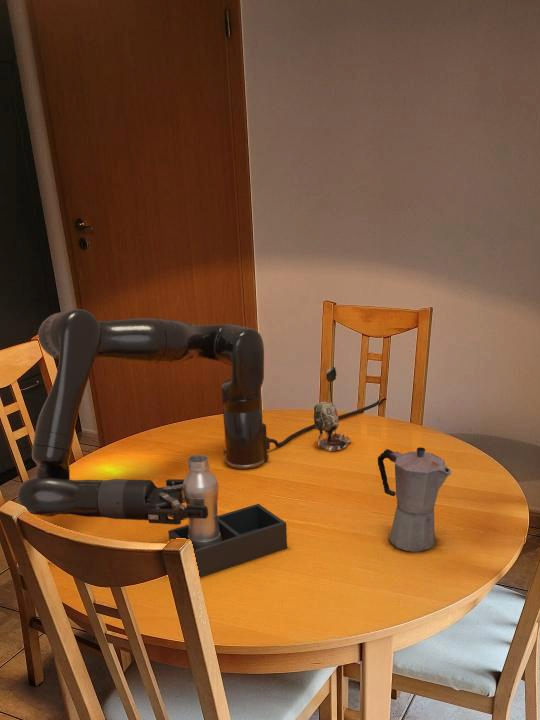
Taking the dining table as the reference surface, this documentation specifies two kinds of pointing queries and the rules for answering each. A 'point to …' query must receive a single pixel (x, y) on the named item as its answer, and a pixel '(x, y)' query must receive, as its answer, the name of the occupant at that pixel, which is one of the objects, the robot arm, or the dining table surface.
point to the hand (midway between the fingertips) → (212, 501)
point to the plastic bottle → (202, 502)
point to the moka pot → (414, 496)
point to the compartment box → (239, 539)
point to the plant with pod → (329, 420)
